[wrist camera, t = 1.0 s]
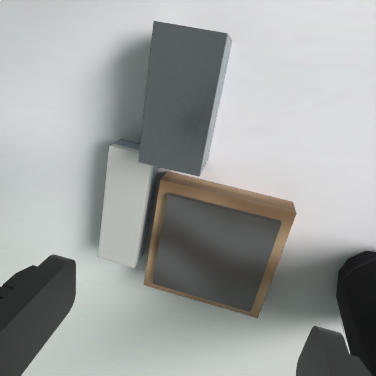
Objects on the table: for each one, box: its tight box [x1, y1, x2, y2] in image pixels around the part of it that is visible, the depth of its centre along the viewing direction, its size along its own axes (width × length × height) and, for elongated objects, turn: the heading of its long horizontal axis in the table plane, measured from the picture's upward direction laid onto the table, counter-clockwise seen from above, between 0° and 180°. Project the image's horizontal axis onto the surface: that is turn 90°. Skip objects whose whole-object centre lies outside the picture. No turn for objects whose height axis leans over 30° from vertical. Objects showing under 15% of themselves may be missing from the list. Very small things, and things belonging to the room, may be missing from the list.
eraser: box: [98, 139, 158, 268], centre depth 30 cm, size 12×4×3 cm, turn 168°
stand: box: [144, 171, 296, 318], centre depth 29 cm, size 12×12×3 cm
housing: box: [138, 21, 232, 176], centre depth 24 cm, size 10×5×5 cm, turn 170°
